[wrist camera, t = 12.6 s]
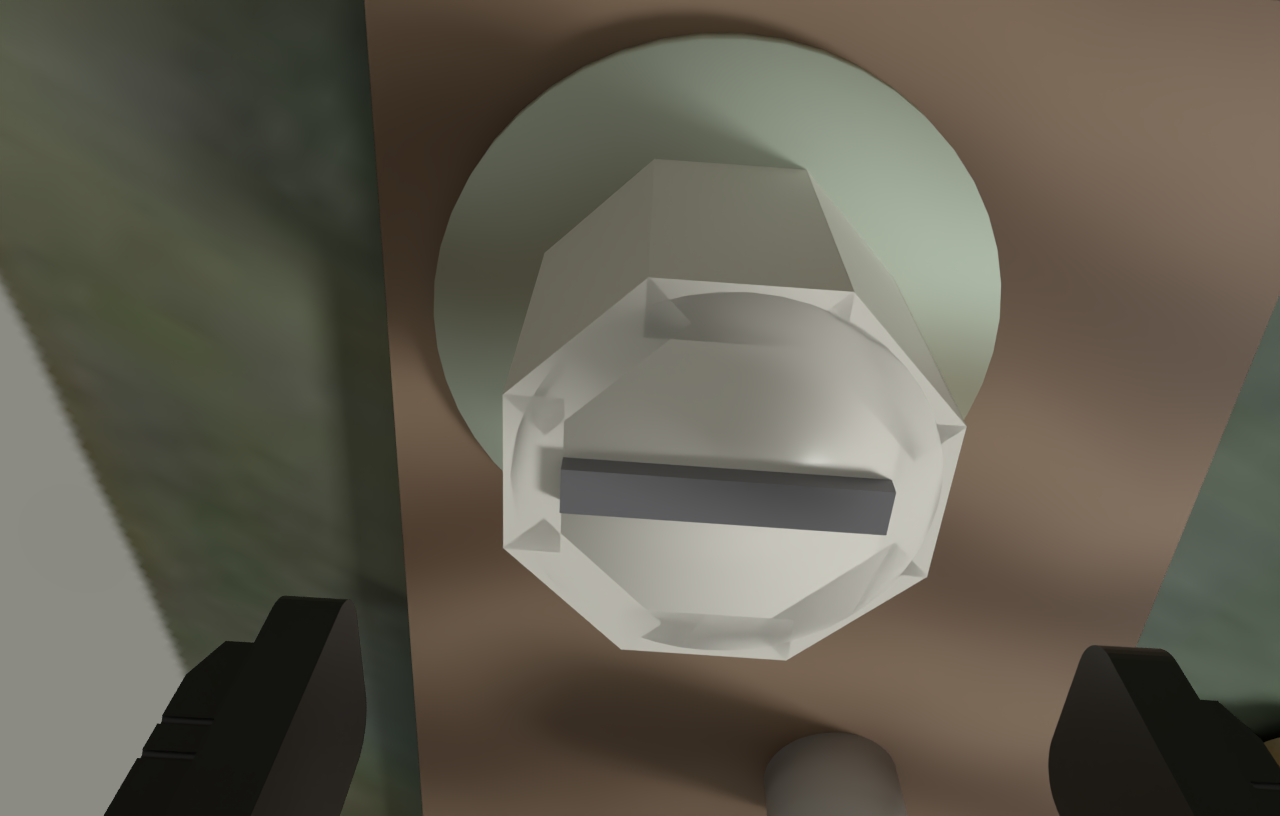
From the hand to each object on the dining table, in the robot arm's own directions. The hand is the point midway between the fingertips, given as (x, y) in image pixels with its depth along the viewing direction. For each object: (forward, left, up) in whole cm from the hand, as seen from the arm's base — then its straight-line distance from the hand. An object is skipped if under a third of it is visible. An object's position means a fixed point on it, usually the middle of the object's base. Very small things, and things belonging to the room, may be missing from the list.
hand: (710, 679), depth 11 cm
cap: (+1, 0, -8) cm, 8 cm away
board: (-5, -2, -10) cm, 12 cm away
